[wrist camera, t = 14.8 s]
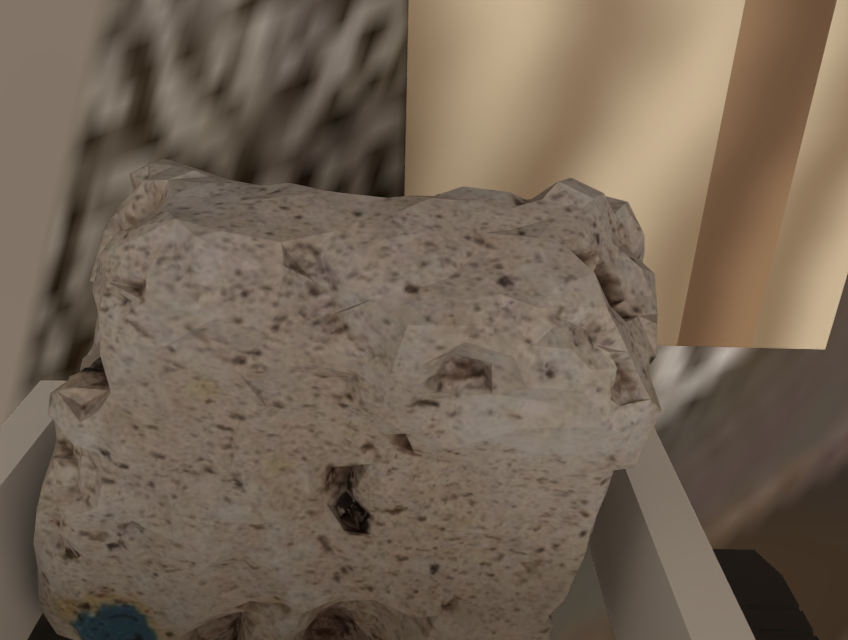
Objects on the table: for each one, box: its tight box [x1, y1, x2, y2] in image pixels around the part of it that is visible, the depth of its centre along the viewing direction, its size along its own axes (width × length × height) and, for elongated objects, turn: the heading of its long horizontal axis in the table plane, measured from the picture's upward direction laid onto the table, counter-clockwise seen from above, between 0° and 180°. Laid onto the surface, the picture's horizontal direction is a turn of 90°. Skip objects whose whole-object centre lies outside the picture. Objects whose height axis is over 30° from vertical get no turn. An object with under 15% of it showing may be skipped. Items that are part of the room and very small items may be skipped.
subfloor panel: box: [404, 0, 848, 349], centre depth 26 cm, size 17×20×1 cm
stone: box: [33, 159, 661, 640], centre depth 13 cm, size 13×6×10 cm
